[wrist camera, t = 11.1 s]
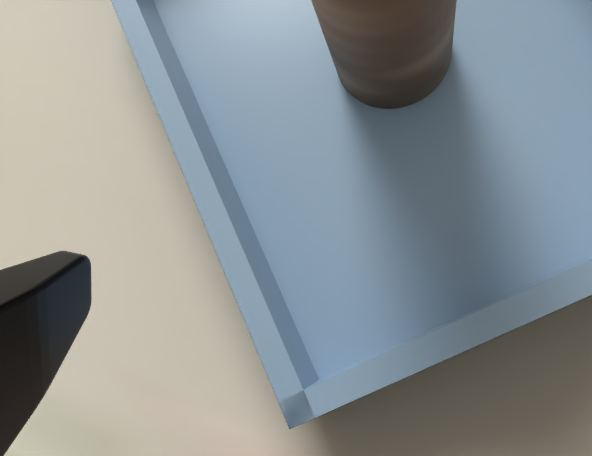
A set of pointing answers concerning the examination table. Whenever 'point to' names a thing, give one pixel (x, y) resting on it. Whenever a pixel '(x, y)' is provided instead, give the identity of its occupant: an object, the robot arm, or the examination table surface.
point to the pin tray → (378, 183)
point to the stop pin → (388, 47)
